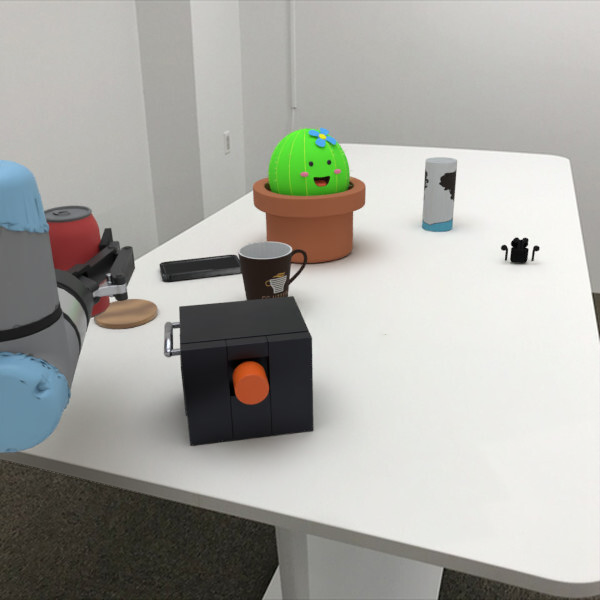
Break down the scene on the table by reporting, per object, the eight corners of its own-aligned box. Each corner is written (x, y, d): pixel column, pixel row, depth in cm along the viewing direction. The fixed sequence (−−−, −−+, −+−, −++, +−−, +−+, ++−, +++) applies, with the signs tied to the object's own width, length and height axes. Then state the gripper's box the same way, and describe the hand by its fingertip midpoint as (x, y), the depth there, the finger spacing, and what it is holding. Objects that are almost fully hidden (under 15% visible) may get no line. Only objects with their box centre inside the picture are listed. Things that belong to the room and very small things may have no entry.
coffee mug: (243, 320, 102) (239, 260, 98) (239, 299, 110) (236, 243, 106) (316, 314, 104) (315, 255, 100) (307, 294, 112) (306, 238, 108)
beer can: (83, 296, 81) (68, 201, 76) (122, 306, 77) (109, 208, 73) (40, 315, 75) (20, 215, 71) (80, 327, 72) (62, 223, 67)
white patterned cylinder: (458, 227, 145) (464, 160, 139) (437, 233, 142) (441, 164, 136) (436, 221, 150) (440, 156, 144) (415, 226, 147) (418, 160, 141)
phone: (158, 262, 125) (236, 253, 128) (159, 268, 125) (236, 259, 129) (162, 276, 118) (243, 267, 121) (163, 282, 118) (244, 272, 122)
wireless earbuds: (499, 263, 124) (502, 238, 122) (498, 259, 126) (500, 234, 124) (538, 264, 123) (541, 239, 121) (535, 260, 125) (538, 235, 123)
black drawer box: (172, 393, 83) (163, 307, 78) (295, 380, 85) (293, 295, 80) (173, 448, 72) (161, 352, 67) (313, 430, 75) (312, 337, 70)
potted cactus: (245, 240, 140) (238, 121, 130) (340, 229, 146) (340, 114, 136) (273, 274, 121) (267, 137, 111) (381, 260, 127) (385, 129, 117)
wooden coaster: (84, 314, 106) (83, 310, 105) (139, 298, 112) (139, 294, 111) (111, 334, 99) (110, 330, 98) (169, 316, 105) (168, 311, 104)
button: (233, 391, 71) (231, 362, 70) (266, 388, 71) (264, 359, 70) (235, 406, 68) (233, 376, 67) (269, 402, 69) (268, 372, 67)
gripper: (-65, 369, 57) (-1, 276, 78) (160, 347, 60) (164, 264, 81) (-86, 291, 54) (-14, 216, 75) (151, 272, 57) (157, 205, 78)
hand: (78, 241), depth 78 cm, fingers closed on beer can, 7 cm apart
